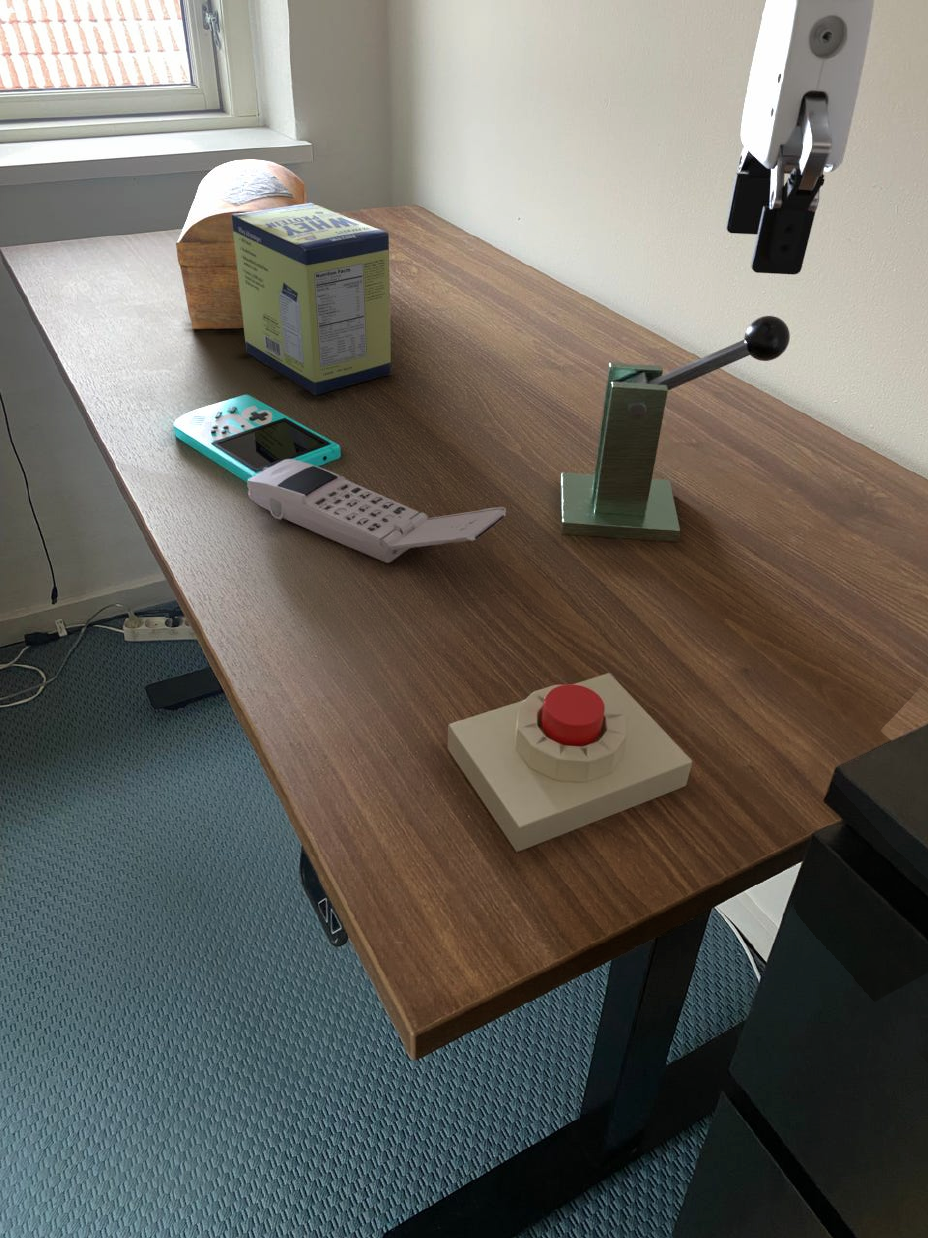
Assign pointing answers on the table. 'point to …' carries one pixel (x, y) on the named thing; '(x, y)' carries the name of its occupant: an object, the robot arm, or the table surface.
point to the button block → (565, 765)
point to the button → (572, 715)
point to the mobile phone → (358, 512)
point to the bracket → (624, 467)
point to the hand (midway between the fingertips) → (760, 251)
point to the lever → (730, 353)
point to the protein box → (314, 295)
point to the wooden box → (226, 235)
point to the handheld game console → (251, 437)
